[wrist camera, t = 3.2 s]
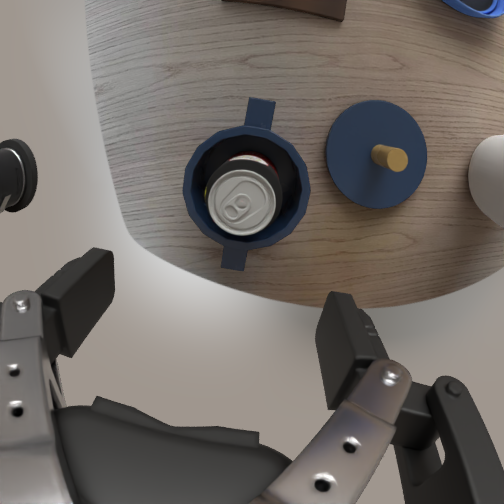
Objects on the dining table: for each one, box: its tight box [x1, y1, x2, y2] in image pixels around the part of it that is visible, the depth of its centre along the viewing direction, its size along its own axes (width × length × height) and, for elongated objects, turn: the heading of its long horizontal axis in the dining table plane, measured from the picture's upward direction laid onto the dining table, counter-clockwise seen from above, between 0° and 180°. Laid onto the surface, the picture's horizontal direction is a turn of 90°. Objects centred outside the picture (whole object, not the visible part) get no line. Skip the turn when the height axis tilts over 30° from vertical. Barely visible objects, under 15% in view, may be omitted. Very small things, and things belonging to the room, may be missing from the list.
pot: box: [183, 97, 311, 271], centre depth 31 cm, size 12×17×7 cm
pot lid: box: [326, 100, 427, 209], centre depth 30 cm, size 13×13×6 cm
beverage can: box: [205, 151, 283, 236], centre depth 28 cm, size 6×6×12 cm
